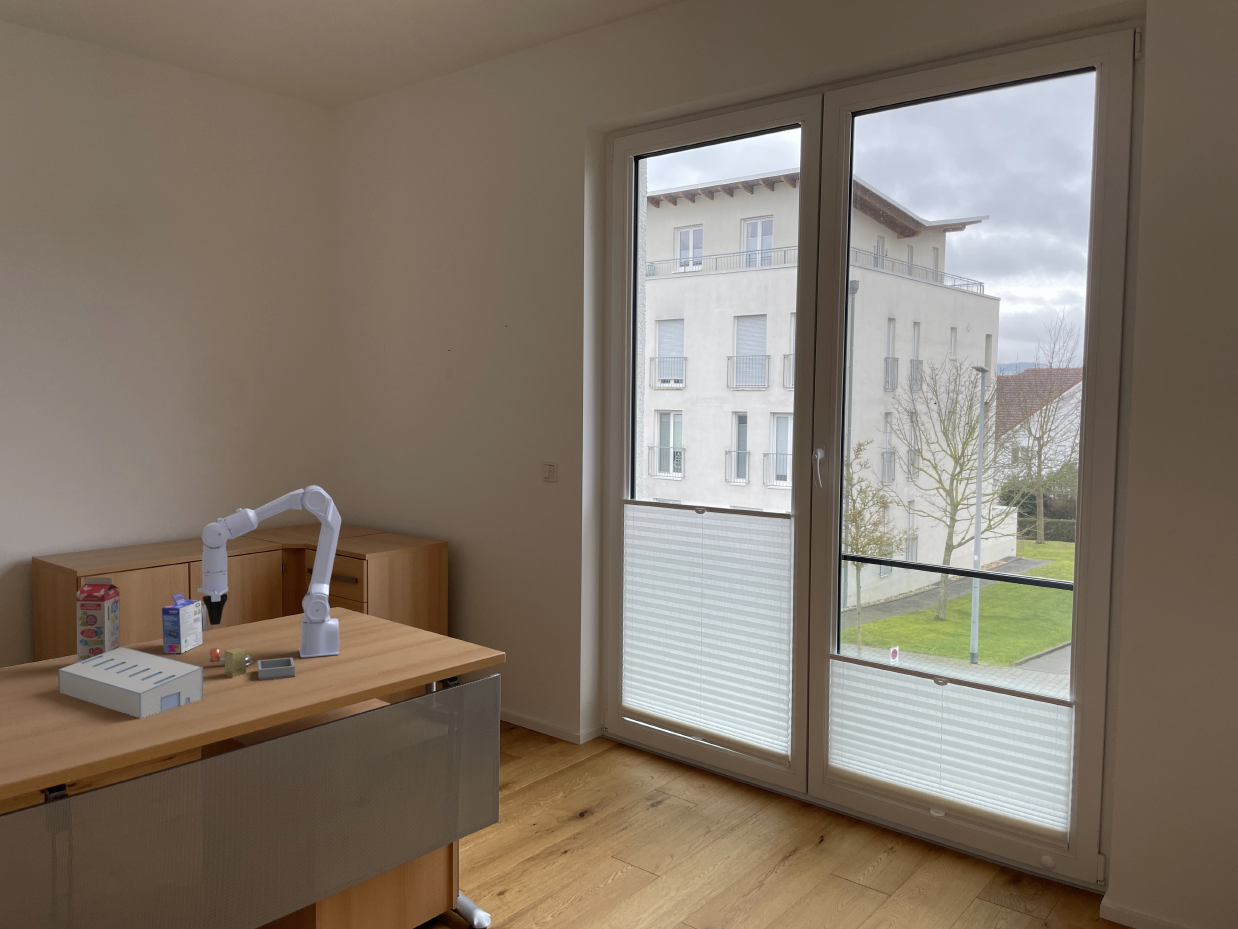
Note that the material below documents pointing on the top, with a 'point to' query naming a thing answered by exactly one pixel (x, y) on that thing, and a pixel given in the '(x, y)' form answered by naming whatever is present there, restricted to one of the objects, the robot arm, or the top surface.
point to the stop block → (235, 662)
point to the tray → (276, 668)
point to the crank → (216, 656)
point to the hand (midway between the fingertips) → (215, 624)
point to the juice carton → (97, 617)
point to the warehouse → (132, 682)
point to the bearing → (249, 663)
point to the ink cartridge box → (182, 625)
